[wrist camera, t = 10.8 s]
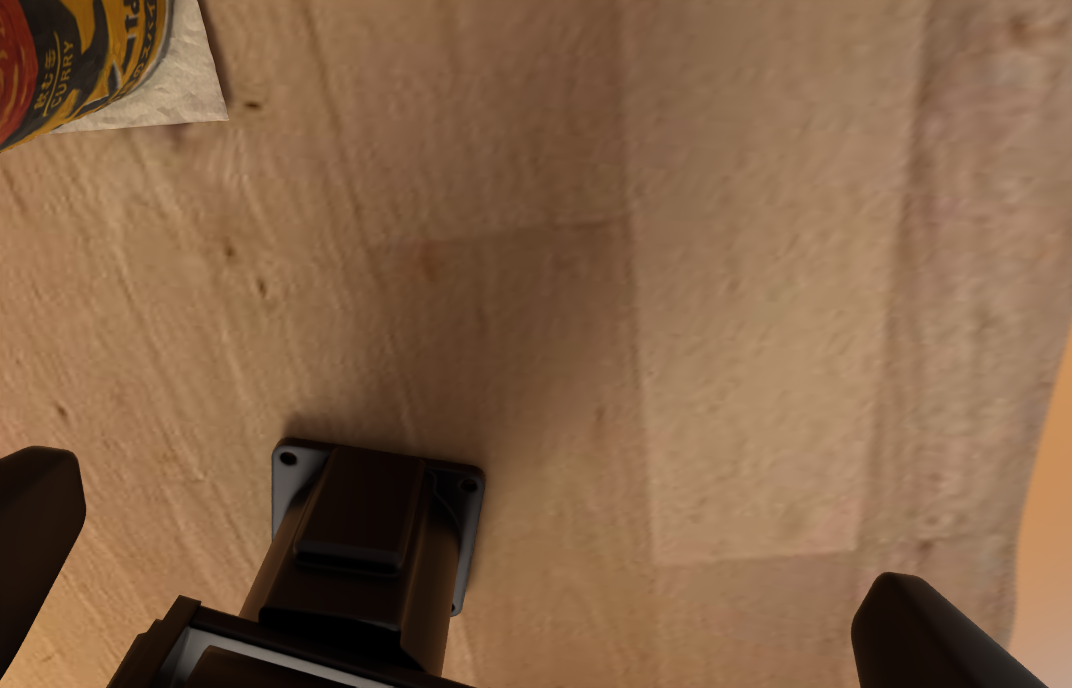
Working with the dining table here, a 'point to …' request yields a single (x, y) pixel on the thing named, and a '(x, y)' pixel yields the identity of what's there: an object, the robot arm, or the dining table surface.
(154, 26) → the condiment
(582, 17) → the dining table surface
